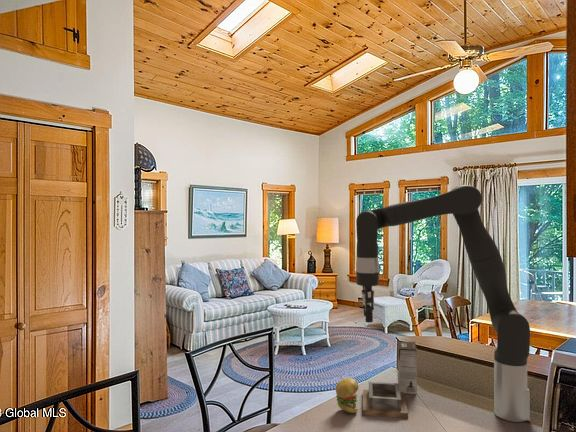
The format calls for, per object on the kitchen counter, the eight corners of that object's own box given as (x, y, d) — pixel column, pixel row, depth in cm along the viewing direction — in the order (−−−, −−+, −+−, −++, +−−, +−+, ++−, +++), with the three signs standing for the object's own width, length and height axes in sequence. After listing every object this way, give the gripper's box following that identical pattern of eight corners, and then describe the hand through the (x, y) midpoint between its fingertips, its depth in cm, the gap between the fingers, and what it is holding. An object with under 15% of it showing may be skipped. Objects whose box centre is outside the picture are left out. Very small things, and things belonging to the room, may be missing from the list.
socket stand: (403, 396, 150) (403, 382, 150) (408, 418, 134) (408, 402, 134) (362, 393, 152) (362, 379, 152) (362, 414, 136) (362, 399, 136)
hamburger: (363, 415, 136) (363, 377, 136) (343, 419, 133) (343, 381, 133) (350, 405, 143) (350, 369, 143) (331, 409, 140) (331, 372, 140)
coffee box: (397, 383, 161) (397, 340, 161) (415, 384, 160) (415, 341, 160) (399, 393, 152) (398, 348, 152) (417, 394, 151) (417, 349, 151)
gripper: (381, 273, 135) (381, 324, 136) (376, 267, 150) (377, 314, 150) (357, 273, 136) (357, 324, 136) (355, 267, 150) (355, 313, 150)
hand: (368, 318), depth 143 cm, fingers open, 8 cm apart
